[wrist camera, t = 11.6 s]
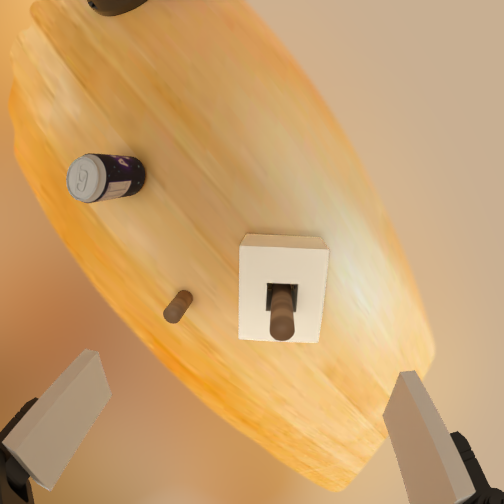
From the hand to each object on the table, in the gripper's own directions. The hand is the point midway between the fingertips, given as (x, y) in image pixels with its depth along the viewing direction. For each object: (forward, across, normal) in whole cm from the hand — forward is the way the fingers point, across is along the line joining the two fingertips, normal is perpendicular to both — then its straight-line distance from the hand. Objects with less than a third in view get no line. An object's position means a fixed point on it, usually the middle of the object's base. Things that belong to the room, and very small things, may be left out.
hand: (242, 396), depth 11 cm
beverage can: (+30, -20, +8) cm, 37 cm away
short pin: (+29, -12, -10) cm, 33 cm away
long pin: (+29, +2, -6) cm, 30 cm away
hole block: (+29, +2, -6) cm, 30 cm away
